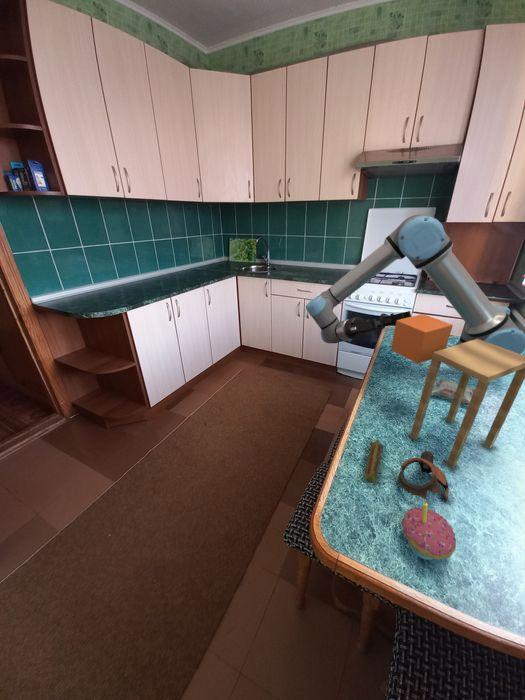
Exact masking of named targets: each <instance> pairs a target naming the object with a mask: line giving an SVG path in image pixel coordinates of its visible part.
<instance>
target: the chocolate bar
mask: <svg viewBox="0 0 525 700" xmlns="http://www.w3.org/2000/svg"><path fill="white" fill-rule="evenodd" d="M369 449H370V450H369V454H368V458H367V462H366V463H367V464H366V468H365V473H364V478H363V480H366V481H369V482H370V483H374V484H377V479H378V473H379V467H380V461H381V457H382V456H381V454H382V449H383V446H382V444H381V442H380V440H379V439H376V440H374V441H373V442H371V445H370V448H369Z"/></svg>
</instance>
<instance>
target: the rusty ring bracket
mask: <svg viewBox="0 0 525 700" xmlns="http://www.w3.org/2000/svg"><path fill="white" fill-rule="evenodd" d="M434 458H435V457H434V454H433V452H432V451H430V450H423V451H422V452H421V454H420V457H411V458H408V459H406V460H404V461H403V463H401V465H400V467H401V469H400V471H399V472H398V483H399V485H400V486H401V487H402V489H403V490H404V491H405V493H408V494H410V495H412V496H417V497H419V498H422V499H424V500H426V501H427V500H428V492H430V493H431V494H436V495H440V494H442V490H441V487H442V488H443V489H444V495H443V497H444V501H445V502H447V501H448V500H449V491H450V490H449V483H448V480H447V477H446V475H445V474H444V472H443V471H442V469H440V467H438V466H437V465H436V464H434V460H435V459H434ZM415 463H418V465H419V468H420V472H421V473H425V474H427V475H430V474H431V477H430V479H429V481H427V482H426V483H424V484H420V485H419V484H418V485H417V484H413V483H411V482H409V481H408V479H406V478H405V473H404V472H405V470H406V469H407V467H408V466H410V465H412V464H415ZM440 485H441V487H440Z"/></svg>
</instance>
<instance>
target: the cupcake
mask: <svg viewBox="0 0 525 700" xmlns="http://www.w3.org/2000/svg"><path fill="white" fill-rule="evenodd" d="M401 527H402V532H403V535H404V536H405V538H406V539H407V543H408V546H409V549H410V550H411V551H412V553H413V554H414V555H415V556H417V557H418V558H420V559H422V560H427V561H431V560H434V559H435V560H438V561H439V560H445V559H449V558H450V557H452V555H453V554H454V553H455V551H456V548H457V539H456V533H455V532H454V530H453V528H452V526H451V524H450V523H449V522H448V521H447V519H446V518H444V516H443V515H440V513H437V512H436V511H435V510H431V509H429V503H428V502H427V500H425V499H424V502H423V506H421V507H419V506H418V507H416V506H415V507H411V508H409V509H408V510H407V511H406V512H405V513H404V515H403V517H402V520H401Z"/></svg>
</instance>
